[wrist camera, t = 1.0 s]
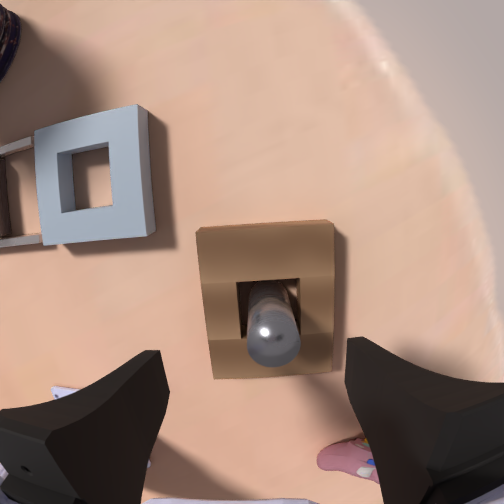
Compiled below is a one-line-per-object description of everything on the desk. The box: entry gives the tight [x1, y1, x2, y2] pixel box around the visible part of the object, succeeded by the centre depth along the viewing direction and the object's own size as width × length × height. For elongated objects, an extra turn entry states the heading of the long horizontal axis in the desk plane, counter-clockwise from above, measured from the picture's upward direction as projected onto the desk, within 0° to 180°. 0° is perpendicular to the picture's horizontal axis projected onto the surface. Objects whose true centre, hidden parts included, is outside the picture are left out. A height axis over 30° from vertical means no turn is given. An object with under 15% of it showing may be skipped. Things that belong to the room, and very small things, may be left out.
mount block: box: [195, 220, 335, 379], centre depth 21 cm, size 10×8×2 cm
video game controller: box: [317, 438, 380, 484], centre depth 22 cm, size 10×5×7 cm, turn 63°
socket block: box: [34, 104, 156, 246], centre depth 19 cm, size 8×8×2 cm
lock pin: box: [247, 280, 301, 367], centre depth 18 cm, size 3×3×6 cm
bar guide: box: [0, 136, 43, 248], centre depth 19 cm, size 8×7×1 cm
